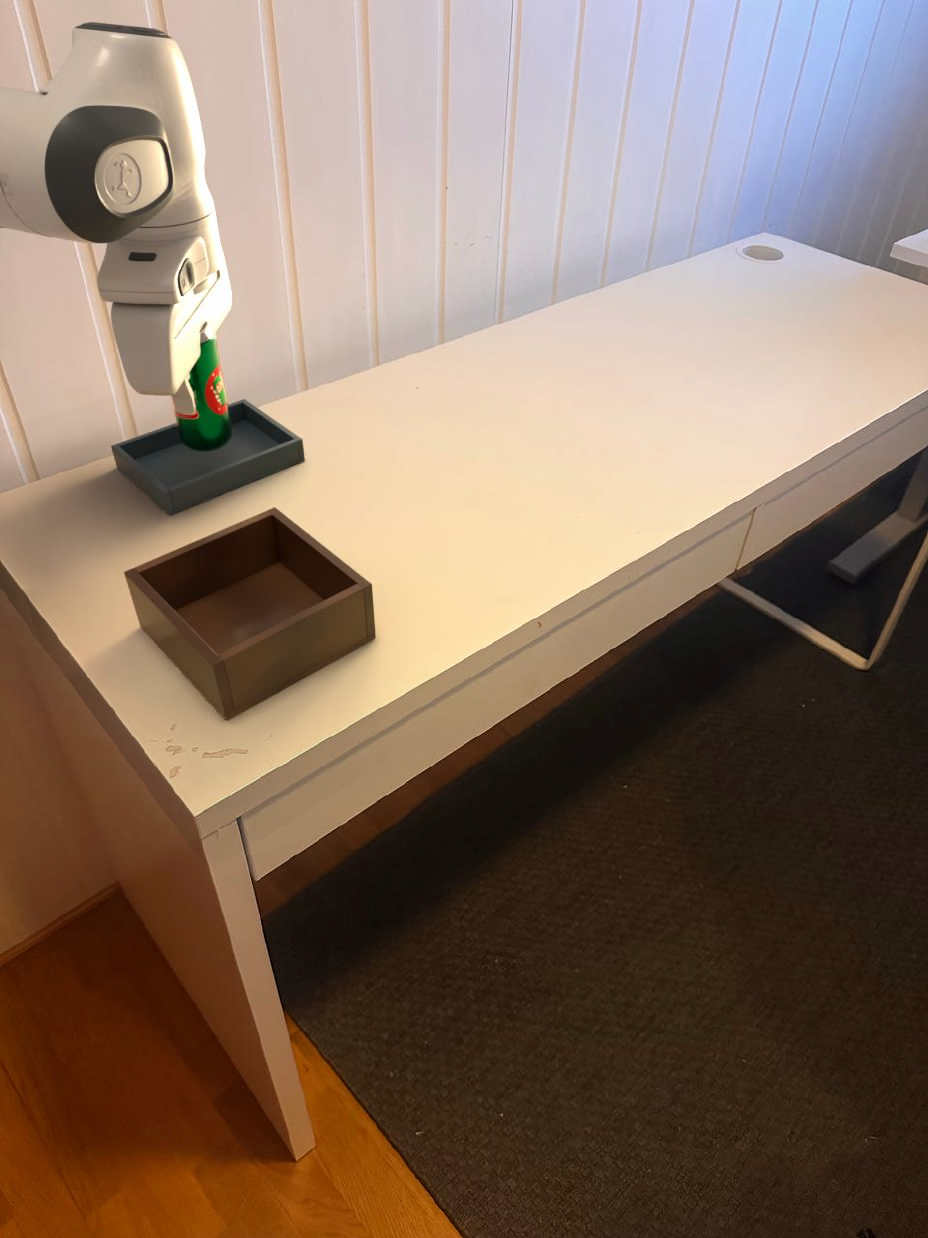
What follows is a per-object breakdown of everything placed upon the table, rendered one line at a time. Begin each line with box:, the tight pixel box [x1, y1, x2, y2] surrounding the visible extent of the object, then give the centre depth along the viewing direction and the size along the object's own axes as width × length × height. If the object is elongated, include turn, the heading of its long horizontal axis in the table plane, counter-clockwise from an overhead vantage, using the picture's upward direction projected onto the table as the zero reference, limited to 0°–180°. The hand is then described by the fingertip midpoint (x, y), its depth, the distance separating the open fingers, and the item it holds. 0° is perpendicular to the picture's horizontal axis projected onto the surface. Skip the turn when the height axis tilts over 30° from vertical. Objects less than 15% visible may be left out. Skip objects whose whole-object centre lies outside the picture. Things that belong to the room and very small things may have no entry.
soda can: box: [170, 321, 232, 452], centre depth 85 cm, size 5×5×12 cm
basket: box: [123, 506, 377, 721], centre depth 70 cm, size 14×14×6 cm
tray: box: [110, 398, 306, 516], centre depth 90 cm, size 15×11×2 cm
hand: (197, 394), depth 86 cm, fingers closed on soda can, 5 cm apart
